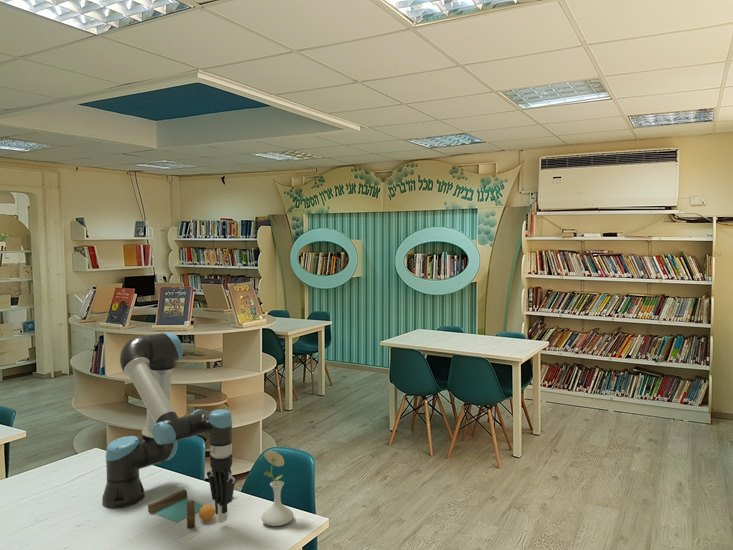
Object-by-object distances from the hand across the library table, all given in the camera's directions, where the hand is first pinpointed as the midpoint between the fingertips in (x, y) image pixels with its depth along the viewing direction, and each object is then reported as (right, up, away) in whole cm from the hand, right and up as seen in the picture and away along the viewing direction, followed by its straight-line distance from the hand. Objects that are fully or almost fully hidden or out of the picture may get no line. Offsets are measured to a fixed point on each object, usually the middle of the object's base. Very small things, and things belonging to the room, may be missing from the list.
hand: (222, 521), depth 194 cm
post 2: (-4, -2, +10) cm, 11 cm away
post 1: (-11, -2, 0) cm, 11 cm away
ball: (-7, +1, +4) cm, 8 cm away
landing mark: (-19, -2, +13) cm, 23 cm away
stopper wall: (-25, -1, +17) cm, 30 cm away
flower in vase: (+18, -2, +4) cm, 19 cm away
